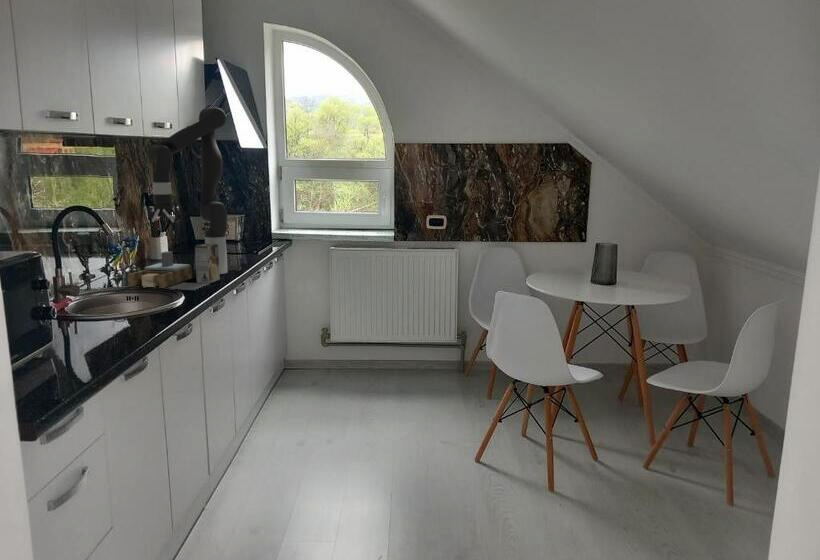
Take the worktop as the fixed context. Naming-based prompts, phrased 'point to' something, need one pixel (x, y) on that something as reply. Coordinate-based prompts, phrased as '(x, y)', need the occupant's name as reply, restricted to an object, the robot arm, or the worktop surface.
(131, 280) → the organiser
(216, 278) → the coffee box
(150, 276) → the block
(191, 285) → the mat
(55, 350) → the worktop surface
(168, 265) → the lid
